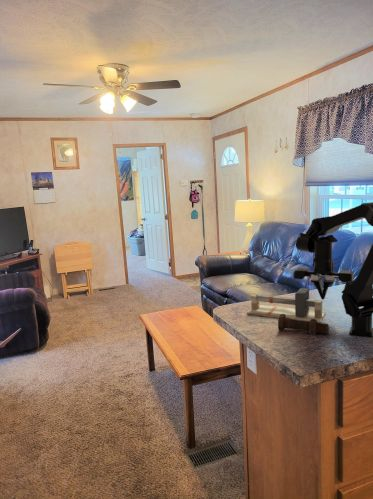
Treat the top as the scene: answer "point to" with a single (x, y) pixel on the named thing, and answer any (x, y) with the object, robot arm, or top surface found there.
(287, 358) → the top surface
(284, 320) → the bolt
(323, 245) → the robot arm
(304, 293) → the grey square collar
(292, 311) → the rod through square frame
